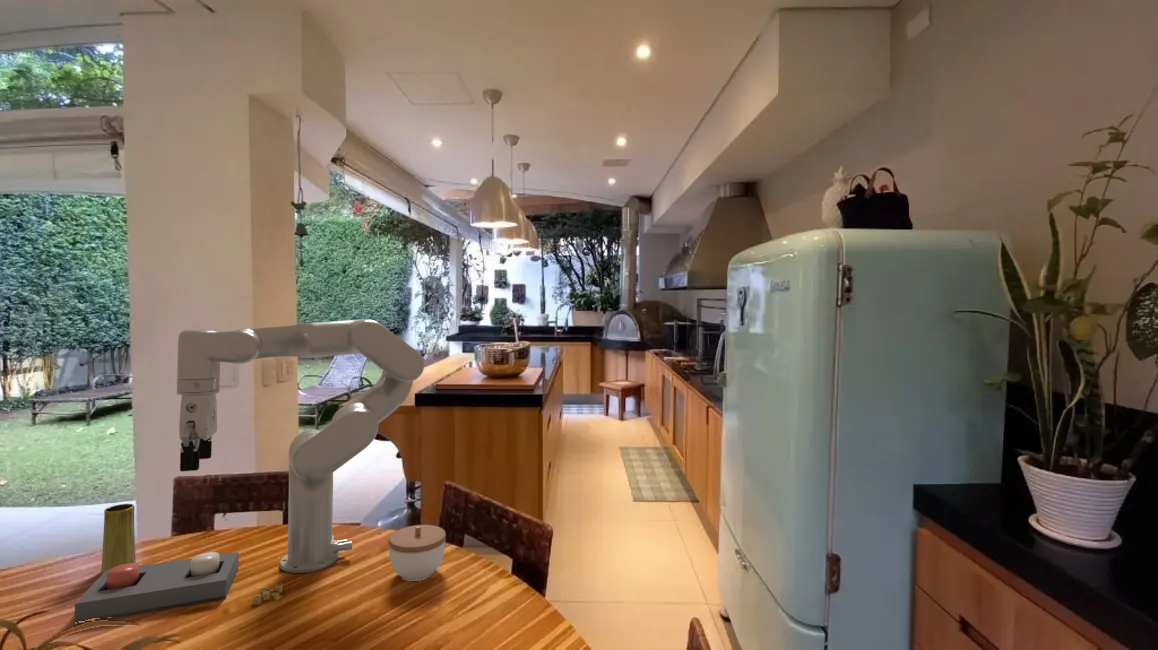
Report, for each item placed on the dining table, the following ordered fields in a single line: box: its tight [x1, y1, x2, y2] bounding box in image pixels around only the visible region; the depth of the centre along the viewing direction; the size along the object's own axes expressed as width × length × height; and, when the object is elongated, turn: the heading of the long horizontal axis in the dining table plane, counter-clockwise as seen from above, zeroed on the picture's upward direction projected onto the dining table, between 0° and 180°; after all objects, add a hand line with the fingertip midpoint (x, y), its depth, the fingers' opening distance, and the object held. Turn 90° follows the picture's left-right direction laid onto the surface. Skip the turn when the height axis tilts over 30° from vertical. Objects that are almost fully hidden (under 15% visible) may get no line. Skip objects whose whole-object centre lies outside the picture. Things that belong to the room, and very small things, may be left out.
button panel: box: [74, 551, 240, 623], centre depth 109 cm, size 24×14×4 cm, turn 114°
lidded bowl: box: [388, 524, 447, 582], centre depth 120 cm, size 13×13×11 cm
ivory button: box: [190, 551, 220, 577], centre depth 112 cm, size 5×5×3 cm
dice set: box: [252, 583, 284, 606], centre depth 109 cm, size 5×5×2 cm
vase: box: [100, 503, 137, 575], centre depth 119 cm, size 6×6×14 cm
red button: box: [106, 562, 140, 590], centre depth 106 cm, size 5×5×3 cm
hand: (196, 464), depth 113 cm, fingers open, 9 cm apart
